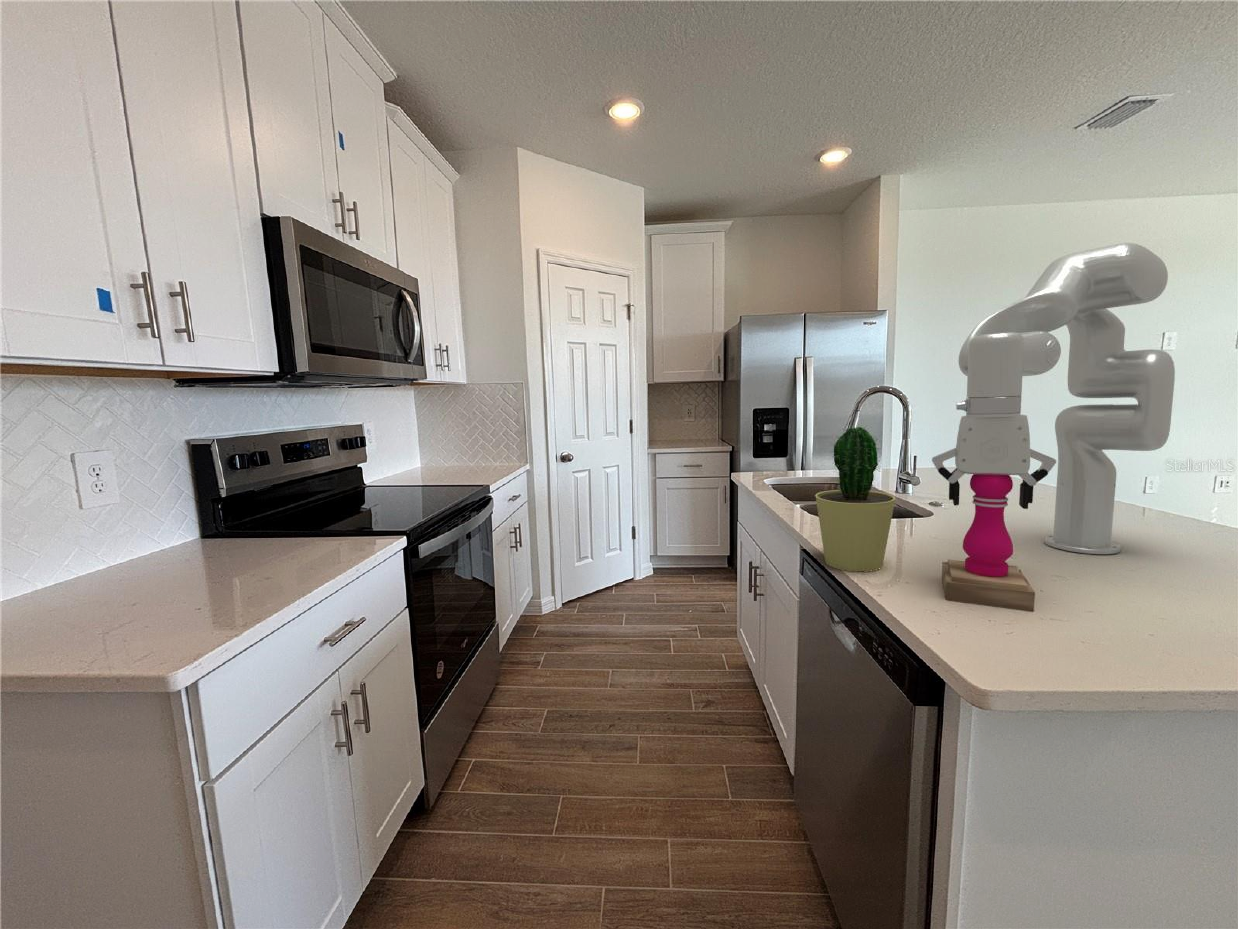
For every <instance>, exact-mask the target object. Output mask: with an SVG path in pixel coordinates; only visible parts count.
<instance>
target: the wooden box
mask: <svg viewBox="0 0 1238 929" xmlns="http://www.w3.org/2000/svg"><path fill="white" fill-rule="evenodd" d="M941 567H942V568H941V581H942V586H943V591H944V596H945V601H951V602H959V603H966V604H976V605H981V606H989V607H996V608H997V607H998V608H1005V609H1012V610H1019V609H1020V611H1027V612H1035V611H1034V610H1035V600H1036V593H1035V590H1034V589H1033V588H1032V585H1031V584H1030V582H1029V581H1028V579H1027V578H1026V576H1025V574H1024V573H1023V572H1022V569H1018V567H1017V566H1016V565H1009V568H1008V575H1006V576H1004V577H988V576H981V575H977V574H974V573H971V572H969V571H967V570H966V569H965V560H958V559H957V560H956V559H947V561H942V563H941Z"/></svg>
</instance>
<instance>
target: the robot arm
mask: <svg viewBox="0 0 1238 929" xmlns="http://www.w3.org/2000/svg"><path fill="white" fill-rule="evenodd" d="M1167 268H1168V267H1167V266H1166V264H1165V261H1163V259H1162V258H1161V257H1160V256H1158V255H1157V254H1155V253H1154V251H1153V252H1152V251H1151V250H1150V249H1148V248H1147V247H1145V246H1143V245H1141V244H1138V243H1133V242H1123V243H1120V242H1119V243H1115V244H1110V245H1106V246H1100V247H1098V248H1097V247H1096V248H1092V249H1086V250H1082V251H1078V252H1073V253H1070V254H1066V255H1063V256H1061V257H1058V258H1057V259H1055V260H1053V261H1052V262H1051V263H1050V264H1049V265H1047V267H1046V268H1045V269H1044V271H1043V272H1042V274H1041V275H1040V276H1039V278H1038V279H1037V280H1036V282H1035V283H1034V285H1033V286H1032V287H1031V289H1030V290H1029V291H1028V293H1027V294H1026V296H1025V297H1022V298H1021V299H1019V300H1017V301H1015V302H1013V303H1011V304H1010V305H1007V306H1006V307H1004V308H1002V309H1000V310H998V311H997V312H994V313H993V314H991V315H989V316H988V317H986V318H984V319H983V320H982V321H981V322H980V323H978V324H977V325H976V326H975V327H974V328H973V330H972V331H971V332H970V333H969V335H968V336H967V338H966V339H965V341H964V342H963V344H962V346H961V348H960V351H959V355H958V366H959V367H958V368H959V369H960V372H962V374H963V375H964V376H966V377H967V384H966V398H965V399H964V400H962V401H957V402H956V404H955V405H956V410H957V411H958V410H961V411H964V412H965V413H966V414H965V415H962V416H961V418H960V421H959V425H958V431H957V437H956V443H955V444H956V445H955V447H954V448H952V449H949V450H947V451H945V452H943V453H940V454H938V455H935V456H932V458H931V462H932V464H933V465H934V467H935V469H936V470H937V471H938V474H939V475H941V476H942V477H943V478H944V479H945V480H946V481H948V483H949V484H948V500H949V501H952V504H953V506H959V505H960V487H961V485H960V482H959V480H960V479H961V478H962V477H963V476H964V475H965V474H967V475H973V474H984V475H1010V476H1019V477H1020V478H1021V479H1022V482H1021V483H1020V484H1019V499H1018V500H1019V501H1018V502H1019V504H1018V505H1019V506H1020V507H1021V508H1022V509H1023V510H1028V509H1029V504H1033V500H1034V486H1036V484H1037V483H1038V482H1040V481H1041V480H1043V479H1044V478H1046V477H1047V476H1048V475H1049V473H1050V471H1051V470H1052V469H1053V467H1054V466H1055V465H1056V464H1057V475H1056V476H1057V477H1056V491H1055V492H1056V493H1055V507H1054V520H1053V521H1054V522H1053V533H1052V534H1049V535H1046V536H1044V538H1043V540H1044V541H1043V542H1044V543H1045V545H1048V546H1049V547H1052V548H1054V549H1058V550H1062V551H1067V552H1073V553H1080V554H1089V555H1114V554H1118V553H1120V552H1121V549H1122V548H1121V545H1120V544H1119V543H1117V542H1115V541H1113V540H1112V534H1113V523H1114V522H1113V521H1114V511H1115V510H1114V508H1115V499H1116V498H1115V496H1116V487H1117V486H1116V484H1117V469H1116V466H1115V464H1114V463H1113V461H1112V460H1111V459H1110V458H1109V457H1108V455H1107V454H1106V453H1105V450H1106V451H1109V450H1111V451H1112V450H1113V451H1133V452H1135V451H1136V452H1137V451H1138V452H1140V451H1141V452H1151V451H1156V450H1160V449H1161V448H1162V447H1164V446H1165V444H1166V443H1167V441H1168V440H1169V439H1168V438H1169V436H1170V431H1171V425H1172V424H1171V423H1172V412H1173V402H1174V401H1173V400H1174V391H1175V380H1176V379H1175V377H1176V376H1175V375H1176V374H1175V373H1176V369H1175V362H1174V360H1173V358H1172V356H1171V355H1170V354H1169V353H1168V352H1166V351H1165V350H1160V349H1140V350H1136V349H1135V350H1125V338H1126V337H1125V335H1126V328H1125V327H1126V326H1125V324H1124V323H1123V322H1122V320H1120V318H1119V317H1118V316H1117V315H1115V314H1114V313H1113V312H1112V311H1111V310H1109V309H1111V308H1119V307H1126V306H1127V307H1128V306H1136V305H1141V304H1146V303H1149V302H1153V301H1155V300H1156V299H1158V298H1159V297H1160V296H1161V295H1162V294H1163V292H1164V291H1165V289H1166V287H1167V285H1168V278H1169V272H1168V269H1167ZM1064 326H1066V327H1067V330H1068V333H1069V348H1068V349H1069V350H1068V351H1069V352H1068V353H1069V354H1068V364H1067V365H1068V368H1067V388H1068V389H1067V390H1068V392H1069V393H1070V395H1071V396H1074V397H1076V398H1079V399H1080V398H1082V399H1118V398H1119V399H1120V398H1121V399H1123V398H1128V399H1129V398H1131V399H1133V398H1134V399H1135V400H1136V401H1137V403H1136V404H1133V403H1132V404H1130V403H1129V404H1112V403H1111V404H1109V403H1108V404H1079V405H1073V406H1070V407H1067V408H1065V409H1063V410H1062V411H1060V412H1059V413H1058V415H1057V416H1056V418H1055V422H1054V432H1055V437H1056V438H1055V439H1056V445H1057V460H1056V459H1055V458H1054V457H1051V456H1049V455H1046V454H1044V453H1042V452H1039V451H1036V450H1035V449H1032V448H1031V440H1030V439H1031V437H1030V426H1029V419H1028V416H1027V415H1025V414H1021V412H1022V392H1023V390H1022V388H1023V377H1031V376H1032V377H1033V376H1038V375H1043V374H1045V373H1048V372H1049V371H1051V370H1052V369H1054V367H1055V366H1056V365H1057V363H1058V361H1059V360H1060V358H1061V354H1062V353H1061V352H1062V349H1061V348H1062V347H1061V344H1060V341H1059V340H1058V338H1056V337H1055V336H1054V334H1052V333H1050V332H1053V331H1055V330H1057V329H1060V328H1062V327H1064ZM952 458H955V461H954V462H955V469H953V470H952V471H951V472H950V471H949V470H948V469H947V468H946V467H945V465H944V464H943V463H944V462H945V461H947V460H950V459H952ZM1031 459H1034V460H1036V461H1039V462H1040V463H1041V464H1040V467H1039V468H1038V469H1036V470H1035V471H1033V472H1032V473H1029V472H1030V469H1031Z"/></svg>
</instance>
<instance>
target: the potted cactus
mask: <svg viewBox="0 0 1238 929" xmlns="http://www.w3.org/2000/svg"><path fill="white" fill-rule="evenodd" d="M866 427H867V426H865V427H862V426H854V427H851V426H850V427H849V428H848V429H847V428H845V429H844V428H843V429H842V430H843V431H844V432H843V434H841V435H840V436H839V437H836V439H837V440H836V442H835V443H831V444H830V446H831V447H833V456H832V458H828V459H831V460H833V463H834V465H833V467H835V471H833V473H835V472H837V471H838V475H837V478H838V479H837V482H838V483H839V488H840V489H834V490H833V489H832V490H826V491H825V490H824V491H819V492H817V493H816V494H815V495H814V496H815V499H816V500H815V502H816V508H817V514H818V520H819V528H820V534H821V541H822V547H823V548H822V549H823V555H824V560H825V563H826V564H827V565H828V566H830V567H832V568H834V569H836V570H841V571H845V570H846V572H852V571H864V572H863V573H866V572H865V571H871V570H876V569H879V568H881V567H882V568H883V565H884V562H885V561H884V560H885V555H886V549H887V544H888V539H889V534H890V529H891V523H892V518H893V514H894V508H895V500H896V497H895V496H894V495H892V494H889V493H887V492H886V493H884V492H881V491H880V492H879V491H872V487H873V488H875V485H873V482H874V480H876V479H875V476H877V469H878V472H879V473H881V470H883V469H882V468H880V467H881V466H879V463H880V460H878V458H879V457H878V452H879V451H880V450H881V449H882V448H879V447H877V445H879V444H878V443H877V441H878V439H879V438H876V437H877V436H875V437H873V435H870V431H868V430H867V428H866ZM874 439H875V440H874ZM876 443H877V444H876ZM829 453H831V454H832V451H829ZM879 469H881V470H879ZM874 474H876V475H874ZM882 568H881V569H882ZM879 570H880V569H879ZM876 571H877V570H876ZM871 572H872V571H871Z"/></svg>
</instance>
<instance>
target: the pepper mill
mask: <svg viewBox="0 0 1238 929" xmlns="http://www.w3.org/2000/svg"><path fill="white" fill-rule="evenodd" d="M970 477H971V478H970V480H969V487H970V489H971V491H973V493H974V495H973V496H972V501H971V502H972V504H974V508H975V509H974V510H975V511H974V517H973V521H972V523H971V525H970V527H969V529H968V530H967V532H966V533H965V535H964V537H963V540H962V550H963V551H964V553H965V554H966V555H967V556H968V557H966V558H965V559H964V561H965V569H966V570H967V571H969V572H971V573H974V574H977V575H981V576H988V577H1004V576H1006V575H1008V568H1009V566H1010V565H1009V564H1008V562H1006V561H1007V560H1008V559H1010V558H1011V557H1012V556H1013V553H1014V545H1013V541H1012V538H1011V535H1010V533H1009V530H1008V529H1007V526H1006V524H1005V523H1006V522H1005V508H1006V507H1008V505H1009V504H1008V501H1009V497H1007V495H1008V494H1009V493H1010V492H1011V491H1012V490H1013V485H1014V482H1013V478H1012V477H1011V475H984V474H971V476H970Z"/></svg>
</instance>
